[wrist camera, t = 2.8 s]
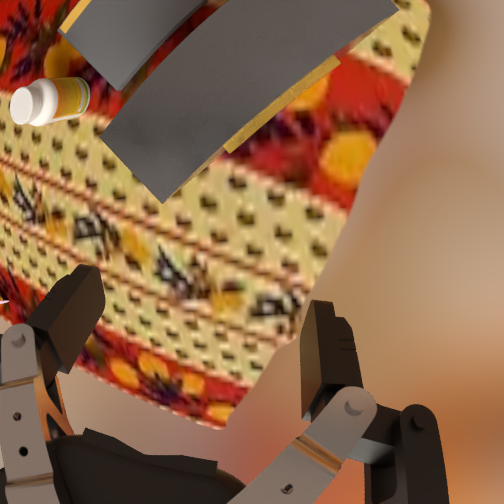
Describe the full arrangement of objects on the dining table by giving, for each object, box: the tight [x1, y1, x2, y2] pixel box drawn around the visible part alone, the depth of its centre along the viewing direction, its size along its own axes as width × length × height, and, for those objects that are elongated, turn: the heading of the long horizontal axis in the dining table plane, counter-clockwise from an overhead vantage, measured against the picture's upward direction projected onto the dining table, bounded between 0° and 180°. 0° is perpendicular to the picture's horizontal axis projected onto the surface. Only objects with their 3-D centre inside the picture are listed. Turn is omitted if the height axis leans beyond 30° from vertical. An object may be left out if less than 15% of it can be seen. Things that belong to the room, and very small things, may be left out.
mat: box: [57, 0, 208, 91], centre depth 25 cm, size 14×14×1 cm
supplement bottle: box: [10, 77, 90, 126], centre depth 26 cm, size 5×5×10 cm
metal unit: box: [100, 0, 399, 204], centre depth 21 cm, size 7×18×16 cm, turn 132°
